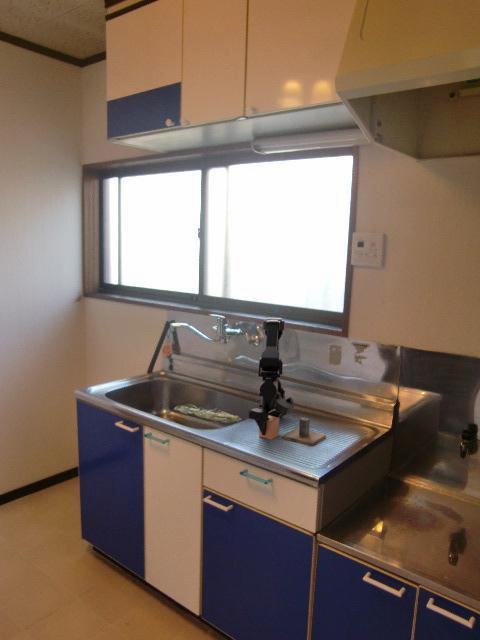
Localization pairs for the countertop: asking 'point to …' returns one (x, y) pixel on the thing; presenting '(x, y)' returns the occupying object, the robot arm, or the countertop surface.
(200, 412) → the stone wall
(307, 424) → the stand
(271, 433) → the salmon orange block
